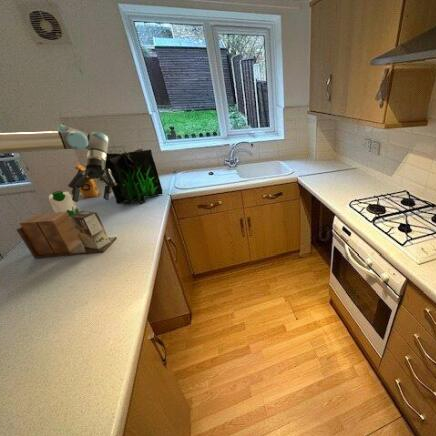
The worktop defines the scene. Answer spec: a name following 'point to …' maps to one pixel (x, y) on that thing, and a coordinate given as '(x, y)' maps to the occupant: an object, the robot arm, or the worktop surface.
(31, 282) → the worktop surface
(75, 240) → the rack
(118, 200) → the decorative plant
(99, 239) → the coffee box
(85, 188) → the coffee package
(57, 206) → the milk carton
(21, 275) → the worktop surface
